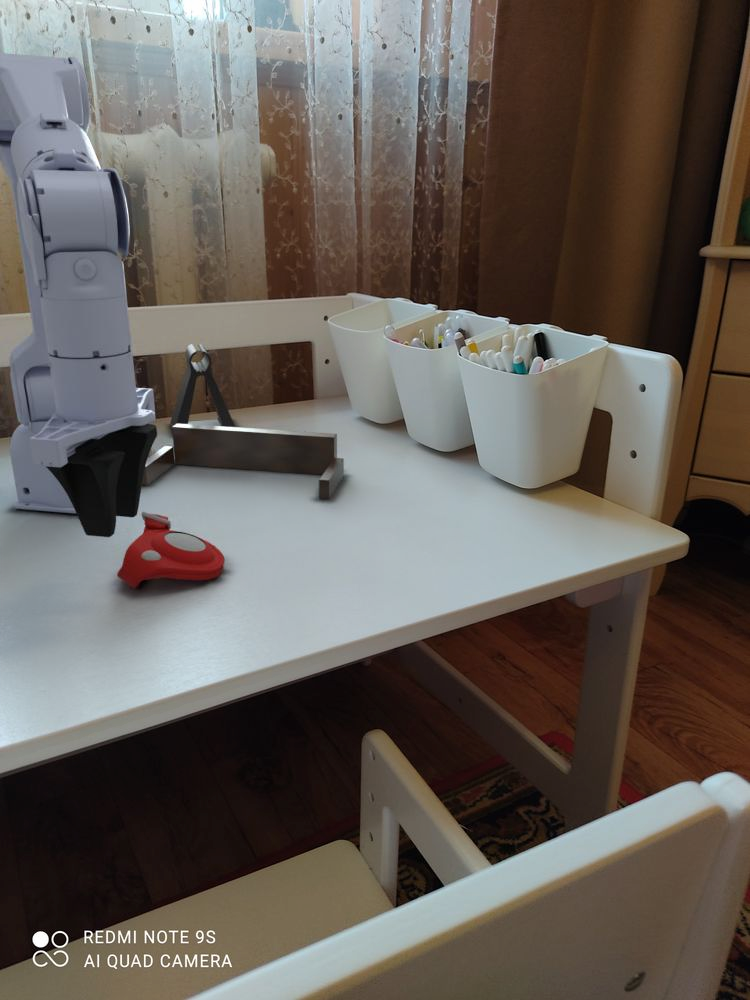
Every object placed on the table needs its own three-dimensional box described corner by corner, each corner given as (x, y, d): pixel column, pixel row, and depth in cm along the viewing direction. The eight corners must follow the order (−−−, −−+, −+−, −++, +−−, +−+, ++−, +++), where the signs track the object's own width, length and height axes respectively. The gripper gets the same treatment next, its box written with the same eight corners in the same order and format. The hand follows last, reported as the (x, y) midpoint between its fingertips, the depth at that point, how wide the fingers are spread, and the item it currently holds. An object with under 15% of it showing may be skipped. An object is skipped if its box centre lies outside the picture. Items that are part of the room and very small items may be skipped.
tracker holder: (249, 553, 72) (171, 570, 64) (235, 593, 74) (158, 615, 65) (161, 498, 78) (78, 506, 69) (149, 537, 79) (67, 550, 70)
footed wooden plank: (138, 485, 92) (133, 445, 90) (171, 459, 101) (168, 422, 99) (329, 499, 88) (328, 458, 87) (346, 472, 97) (346, 434, 95)
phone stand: (230, 420, 118) (226, 342, 114) (236, 431, 113) (231, 349, 108) (170, 425, 116) (163, 344, 111) (173, 436, 110) (166, 352, 106)
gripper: (91, 375, 48) (115, 570, 53) (183, 336, 61) (196, 495, 66) (-12, 370, 49) (21, 561, 54) (101, 332, 62) (119, 489, 68)
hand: (112, 524), depth 60 cm, fingers open, 3 cm apart
